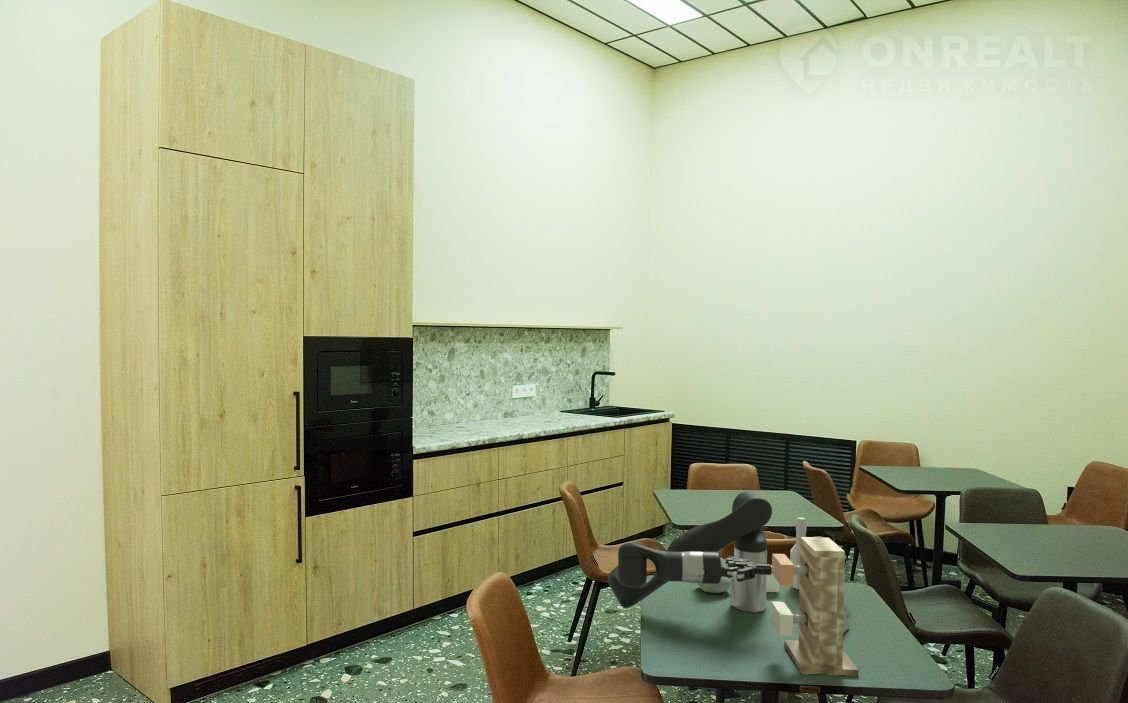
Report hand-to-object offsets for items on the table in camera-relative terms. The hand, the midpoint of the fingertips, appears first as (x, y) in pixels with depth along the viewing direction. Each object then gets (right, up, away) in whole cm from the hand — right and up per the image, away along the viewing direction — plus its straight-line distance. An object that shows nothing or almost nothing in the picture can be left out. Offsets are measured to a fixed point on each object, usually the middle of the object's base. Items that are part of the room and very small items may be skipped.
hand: (771, 569), depth 178 cm
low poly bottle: (+24, -22, +53) cm, 62 cm away
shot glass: (+14, -22, +51) cm, 57 cm away
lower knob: (+5, -15, 0) cm, 15 cm away
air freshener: (-4, -21, +49) cm, 54 cm away
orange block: (+5, -3, 0) cm, 6 cm away
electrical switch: (+22, -22, +18) cm, 36 cm away
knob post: (+12, -22, 0) cm, 25 cm away
